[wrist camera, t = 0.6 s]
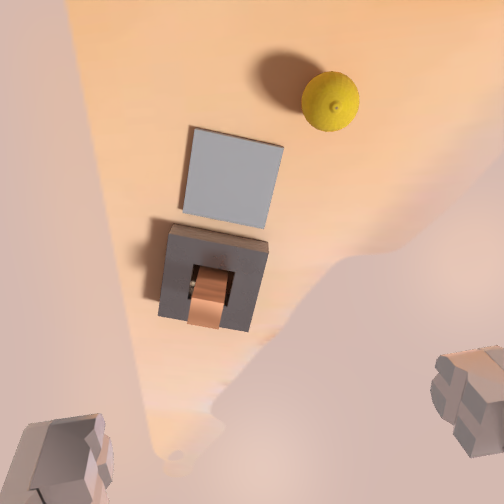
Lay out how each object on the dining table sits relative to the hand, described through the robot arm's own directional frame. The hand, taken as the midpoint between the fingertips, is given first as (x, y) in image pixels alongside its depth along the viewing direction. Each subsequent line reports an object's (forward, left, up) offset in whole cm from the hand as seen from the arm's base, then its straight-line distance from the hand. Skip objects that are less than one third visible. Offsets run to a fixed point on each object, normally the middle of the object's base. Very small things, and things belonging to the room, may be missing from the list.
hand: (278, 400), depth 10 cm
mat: (+7, -2, -40) cm, 40 cm away
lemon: (-4, +6, -40) cm, 41 cm away
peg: (+20, -2, -40) cm, 45 cm away
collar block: (+20, -2, -40) cm, 45 cm away
